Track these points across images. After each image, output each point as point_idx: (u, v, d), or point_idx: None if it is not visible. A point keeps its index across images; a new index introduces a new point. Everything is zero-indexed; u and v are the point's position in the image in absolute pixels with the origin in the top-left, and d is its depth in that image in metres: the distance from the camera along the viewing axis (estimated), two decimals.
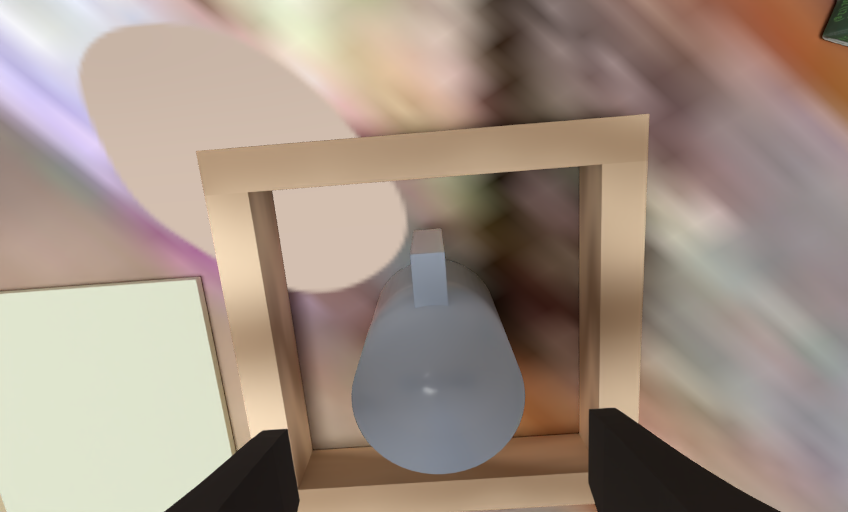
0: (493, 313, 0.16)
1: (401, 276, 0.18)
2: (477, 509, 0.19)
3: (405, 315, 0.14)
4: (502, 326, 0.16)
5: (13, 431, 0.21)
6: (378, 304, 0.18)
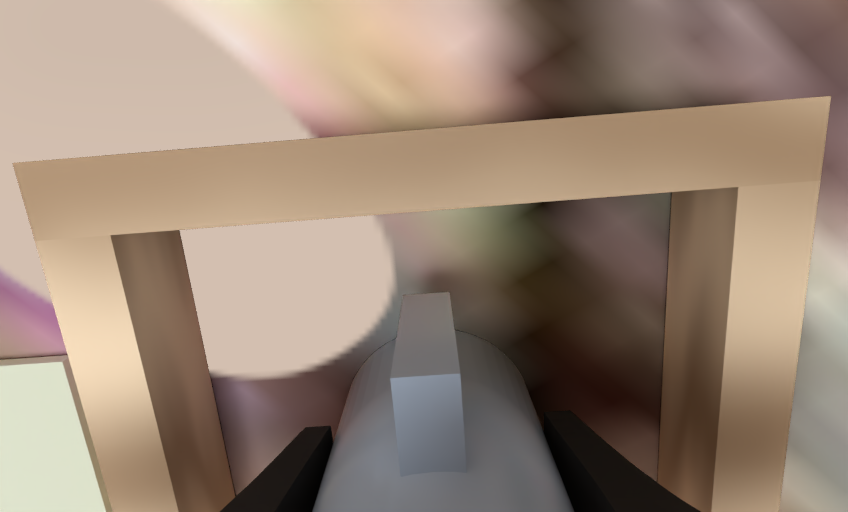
0: (544, 454, 0.09)
1: (384, 363, 0.11)
2: None
3: (381, 499, 0.07)
4: (559, 476, 0.09)
5: None
6: (345, 414, 0.11)
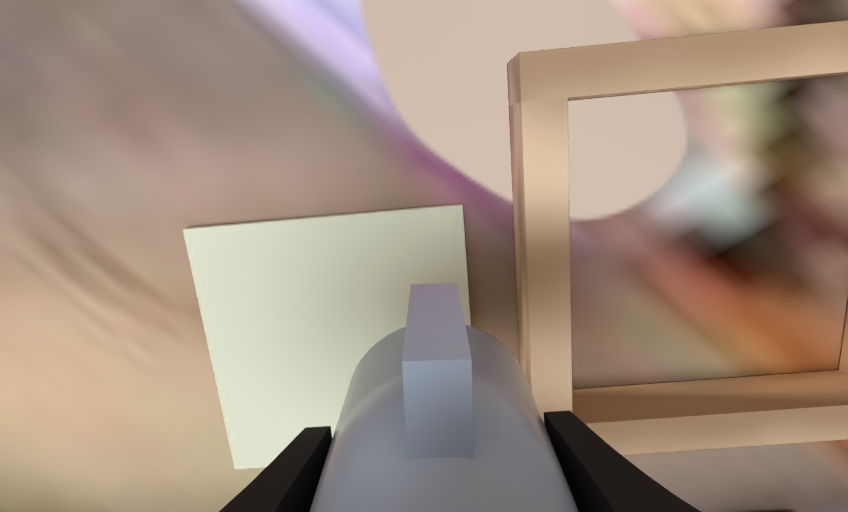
0: (547, 446, 0.09)
1: (388, 352, 0.11)
2: (759, 443, 0.19)
3: (388, 482, 0.07)
4: (561, 468, 0.09)
5: (250, 372, 0.20)
6: (348, 401, 0.11)
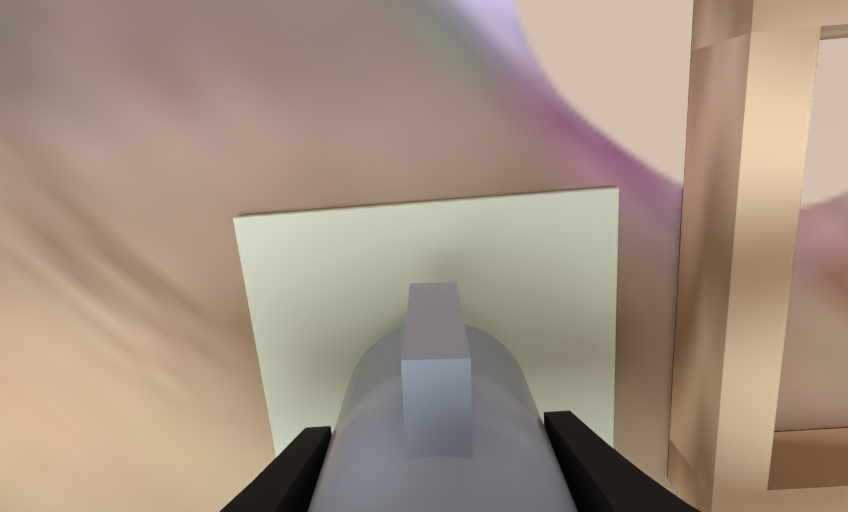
0: (546, 445, 0.09)
1: (387, 351, 0.11)
2: None
3: (386, 480, 0.07)
4: (560, 467, 0.09)
5: (316, 409, 0.15)
6: (347, 400, 0.11)
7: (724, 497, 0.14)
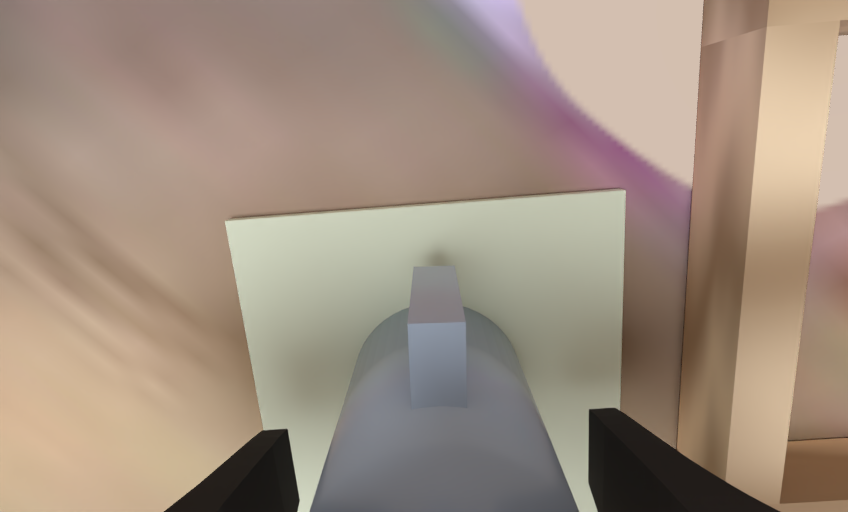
0: (532, 405, 0.10)
1: (392, 329, 0.13)
2: None
3: (395, 425, 0.08)
4: (544, 425, 0.10)
5: (312, 418, 0.15)
6: (357, 371, 0.12)
7: None
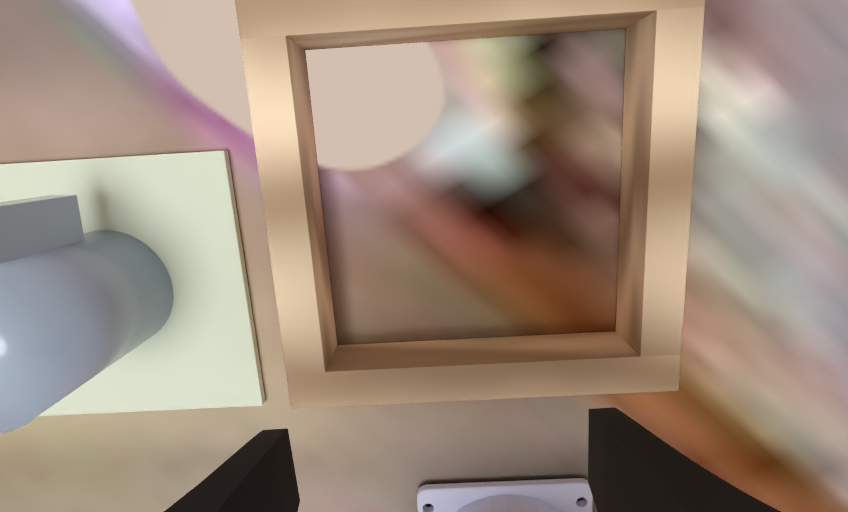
0: (91, 279, 0.16)
1: None
2: (512, 396, 0.19)
3: None
4: (102, 293, 0.16)
5: None
6: None
7: (295, 376, 0.19)
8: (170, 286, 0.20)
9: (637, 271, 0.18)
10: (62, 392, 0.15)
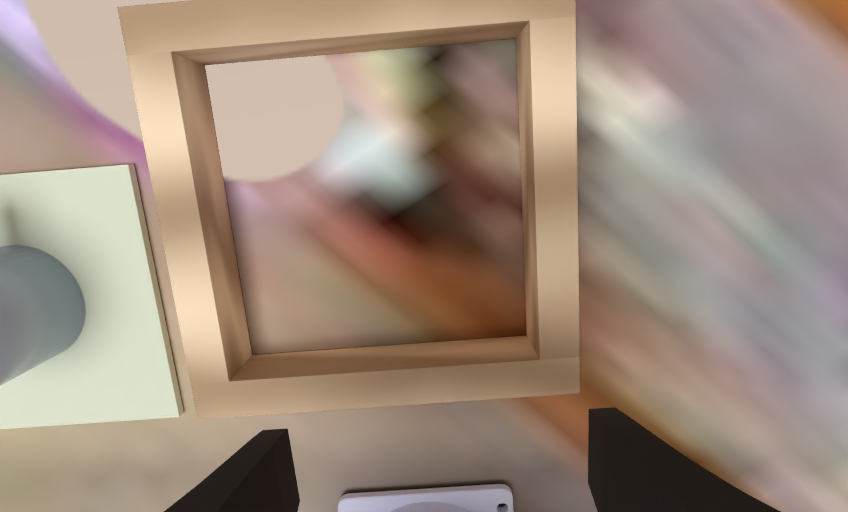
0: None
1: None
2: (416, 402, 0.19)
3: None
4: None
5: None
6: None
7: (199, 386, 0.19)
8: (81, 299, 0.20)
9: (534, 275, 0.18)
10: None
